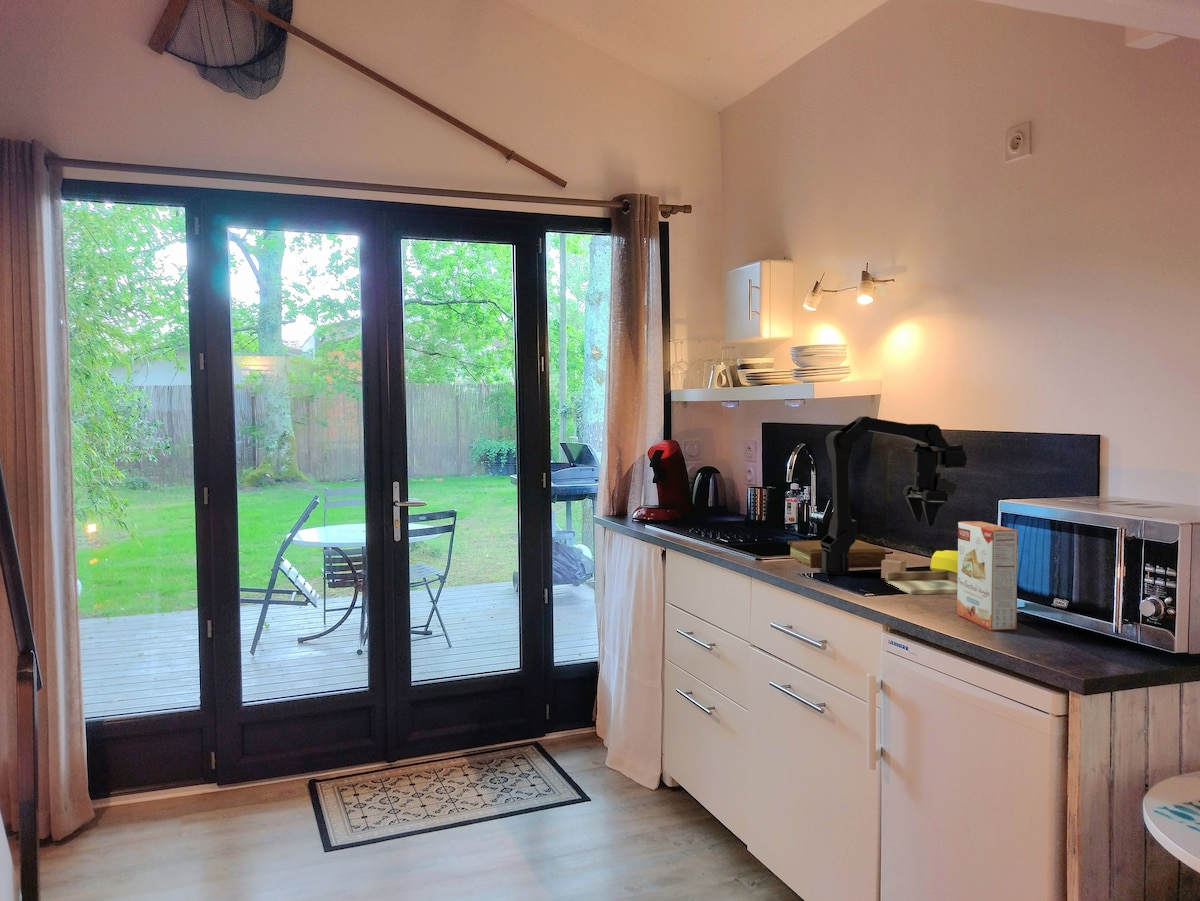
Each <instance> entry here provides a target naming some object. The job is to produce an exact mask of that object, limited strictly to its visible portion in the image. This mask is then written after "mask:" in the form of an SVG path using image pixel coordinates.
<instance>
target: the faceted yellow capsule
mask: <svg viewBox="0 0 1200 901" xmlns="http://www.w3.org/2000/svg"><path fill="white" fill-rule="evenodd" d="M929 569H930V571H952V572H955V573H958V550H948V549H945V550H935V552H934V553H933V555H932V556H931V561H930V566H929Z"/></svg>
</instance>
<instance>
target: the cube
mask: <svg viewBox="0 0 1200 901" xmlns="http://www.w3.org/2000/svg"><path fill="white" fill-rule="evenodd" d="M880 568H881V571H880V574H881V575H880V579H881V578H885V572H907V560H906V559H897V558H885V560H882V561H881V566H880Z"/></svg>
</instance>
